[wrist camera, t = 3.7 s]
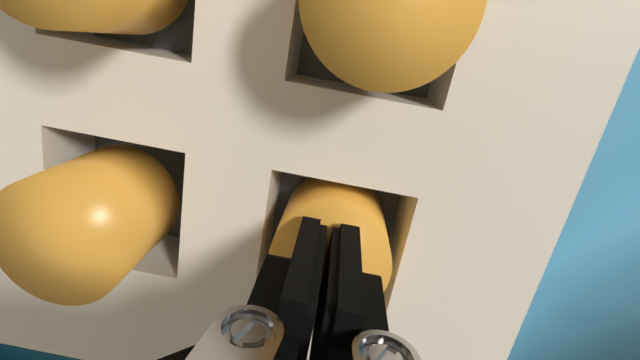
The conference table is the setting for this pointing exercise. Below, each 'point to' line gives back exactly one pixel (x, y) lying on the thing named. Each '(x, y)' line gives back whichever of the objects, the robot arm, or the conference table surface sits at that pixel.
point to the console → (318, 162)
